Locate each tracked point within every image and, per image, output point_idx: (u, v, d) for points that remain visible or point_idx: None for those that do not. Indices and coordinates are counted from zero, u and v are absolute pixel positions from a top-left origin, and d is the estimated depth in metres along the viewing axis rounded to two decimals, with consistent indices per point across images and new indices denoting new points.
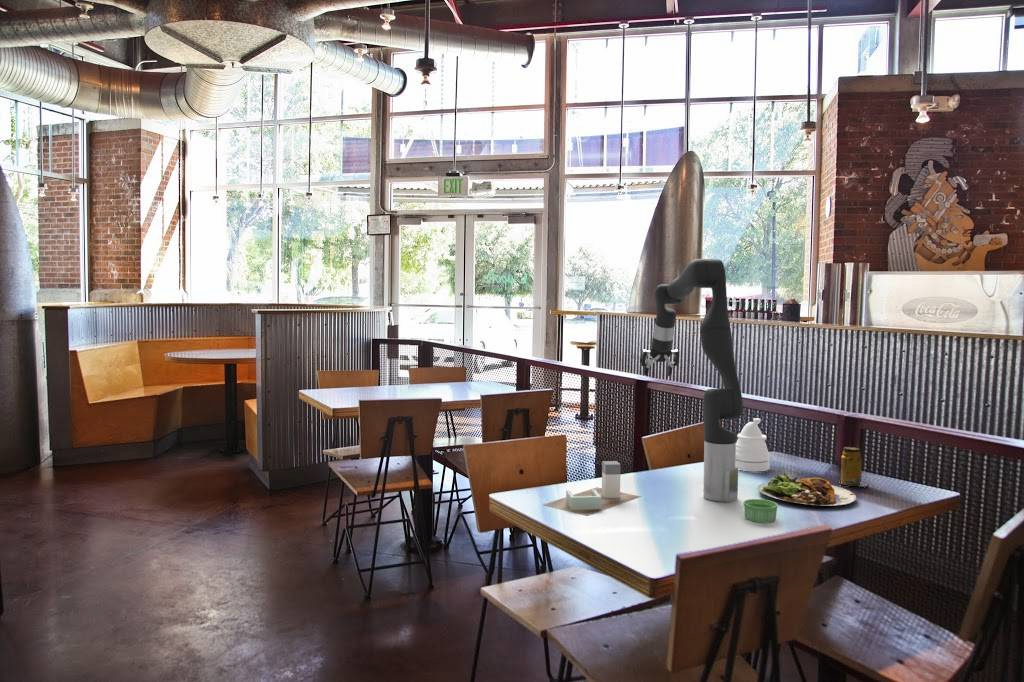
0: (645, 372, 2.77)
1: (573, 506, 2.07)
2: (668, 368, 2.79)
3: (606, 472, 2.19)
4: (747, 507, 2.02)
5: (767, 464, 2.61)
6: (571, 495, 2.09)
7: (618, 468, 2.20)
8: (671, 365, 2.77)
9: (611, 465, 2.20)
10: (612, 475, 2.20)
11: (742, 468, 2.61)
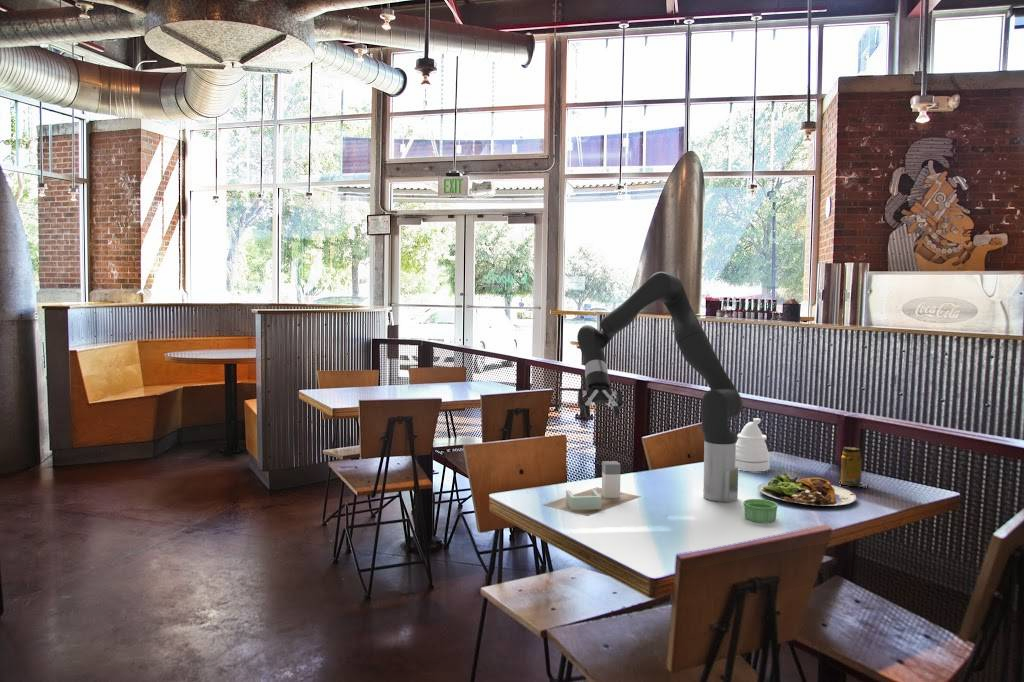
0: (586, 412, 2.35)
1: (573, 506, 2.07)
2: (613, 410, 2.37)
3: (606, 472, 2.19)
4: (747, 507, 2.02)
5: (767, 464, 2.61)
6: (571, 495, 2.09)
7: (618, 468, 2.20)
8: (615, 403, 2.37)
9: (611, 465, 2.20)
10: (612, 475, 2.20)
11: (742, 468, 2.61)
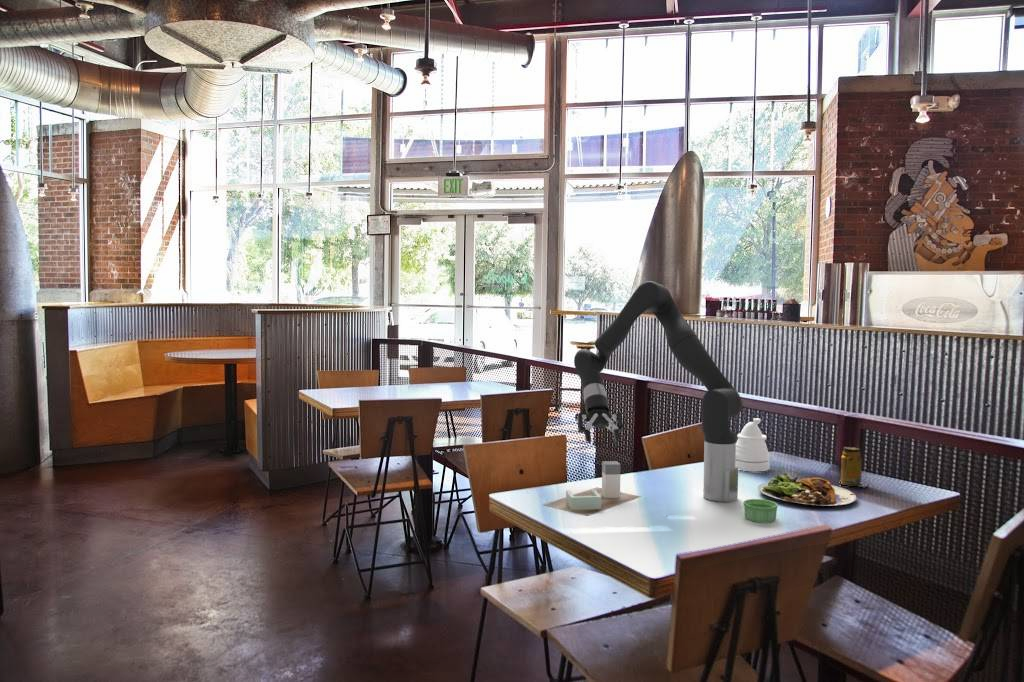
0: (587, 436, 2.33)
1: (573, 506, 2.07)
2: (614, 433, 2.35)
3: (606, 472, 2.19)
4: (747, 507, 2.02)
5: (767, 464, 2.61)
6: (571, 495, 2.09)
7: (618, 468, 2.20)
8: (615, 426, 2.35)
9: (611, 465, 2.20)
10: (612, 475, 2.20)
11: (742, 468, 2.61)
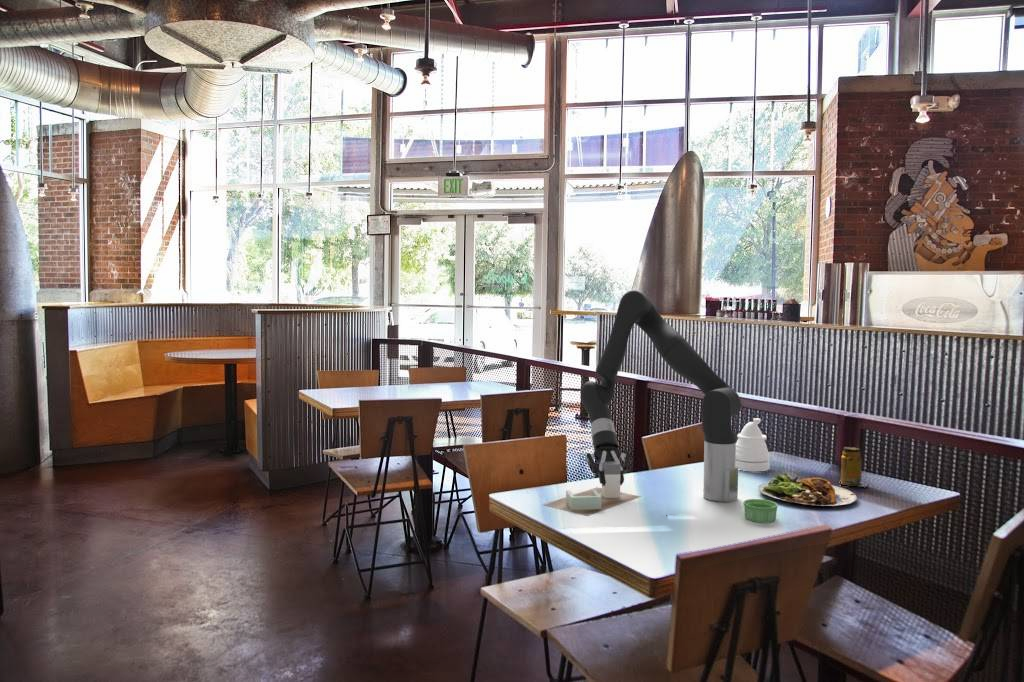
0: (601, 478, 2.20)
1: (573, 506, 2.07)
2: None
3: (606, 472, 2.19)
4: (747, 507, 2.02)
5: (767, 464, 2.61)
6: (571, 495, 2.09)
7: (618, 468, 2.20)
8: (620, 467, 2.23)
9: (611, 465, 2.20)
10: (612, 475, 2.20)
11: (742, 468, 2.61)
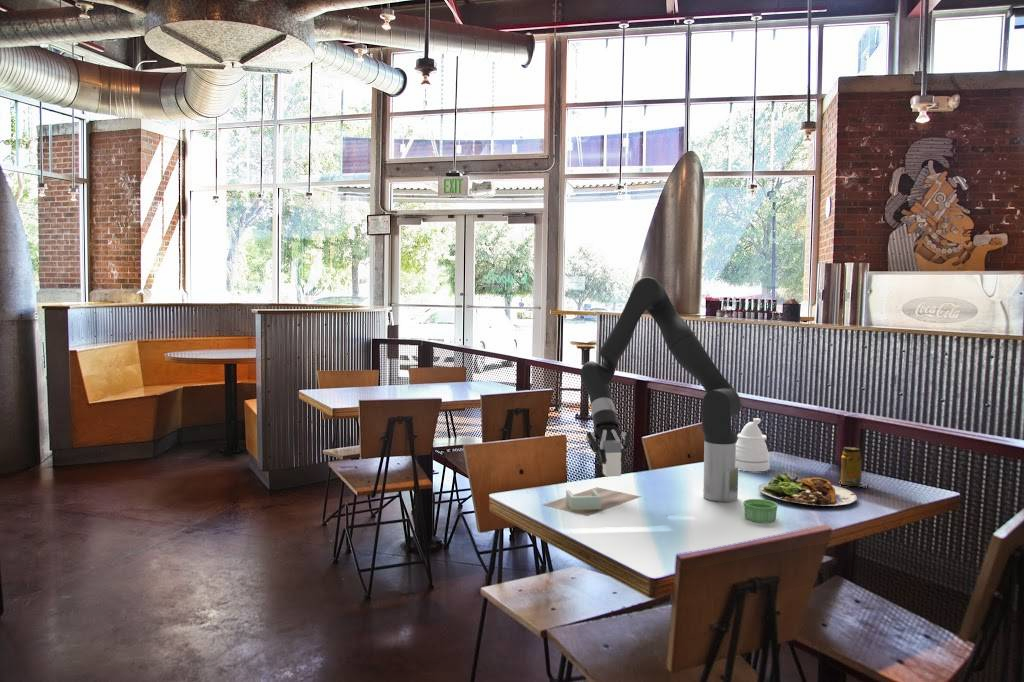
0: (602, 456, 2.20)
1: (573, 506, 2.07)
2: None
3: (607, 450, 2.19)
4: (747, 507, 2.02)
5: (767, 464, 2.61)
6: (571, 495, 2.09)
7: (619, 446, 2.19)
8: None
9: (612, 443, 2.19)
10: (613, 453, 2.19)
11: (742, 468, 2.61)
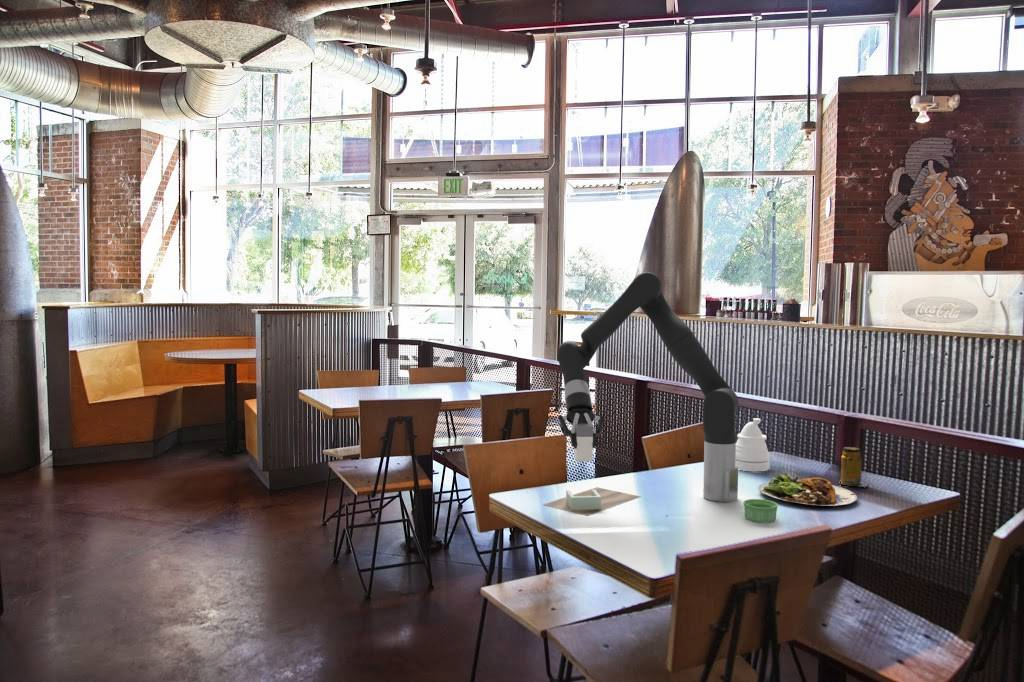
0: (572, 440, 2.10)
1: (573, 506, 2.07)
2: None
3: (578, 434, 2.09)
4: (747, 507, 2.02)
5: (767, 464, 2.61)
6: (571, 495, 2.09)
7: (590, 430, 2.10)
8: (593, 430, 2.13)
9: (583, 427, 2.09)
10: (584, 437, 2.10)
11: (742, 468, 2.61)
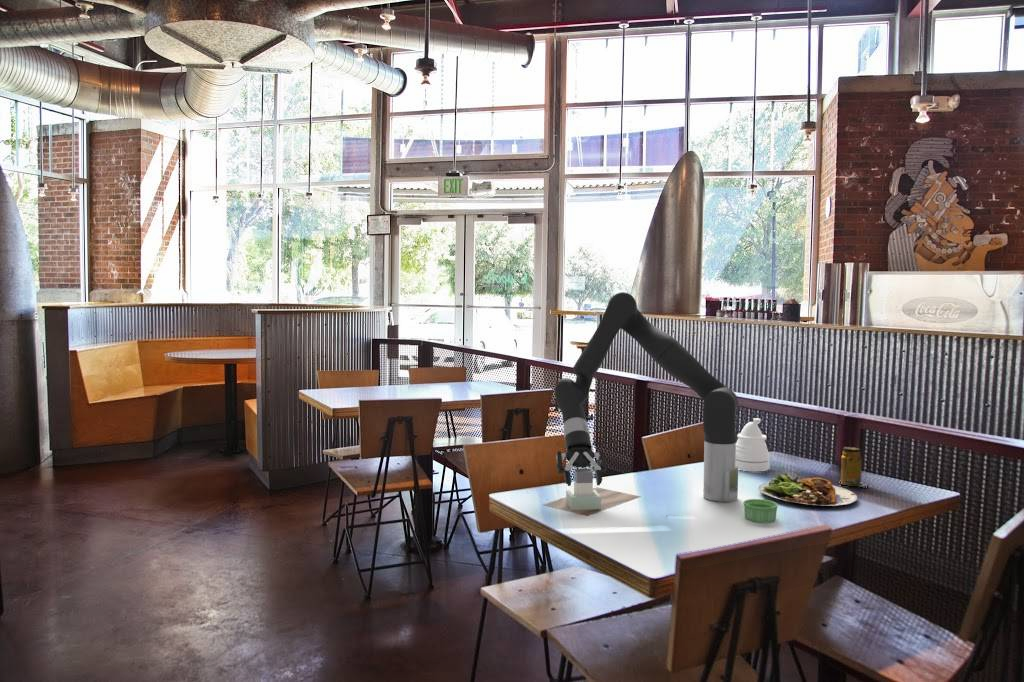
0: (566, 478, 2.10)
1: (573, 506, 2.07)
2: (596, 474, 2.12)
3: (578, 480, 2.09)
4: (747, 507, 2.02)
5: (767, 464, 2.61)
6: (571, 495, 2.09)
7: (590, 476, 2.09)
8: (598, 467, 2.13)
9: (583, 473, 2.09)
10: (584, 484, 2.09)
11: (742, 468, 2.61)
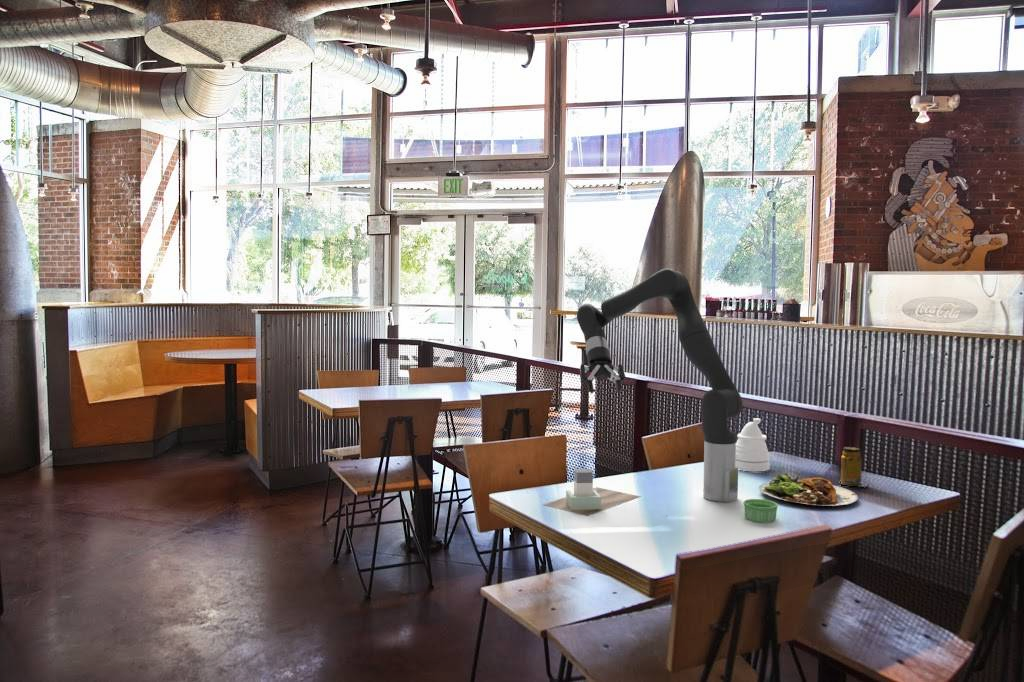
0: (589, 386, 2.36)
1: (573, 506, 2.07)
2: (616, 384, 2.38)
3: (578, 480, 2.09)
4: (747, 507, 2.03)
5: (767, 464, 2.61)
6: (571, 495, 2.09)
7: (590, 476, 2.09)
8: (617, 377, 2.38)
9: (583, 473, 2.09)
10: (584, 484, 2.09)
11: (742, 468, 2.61)
